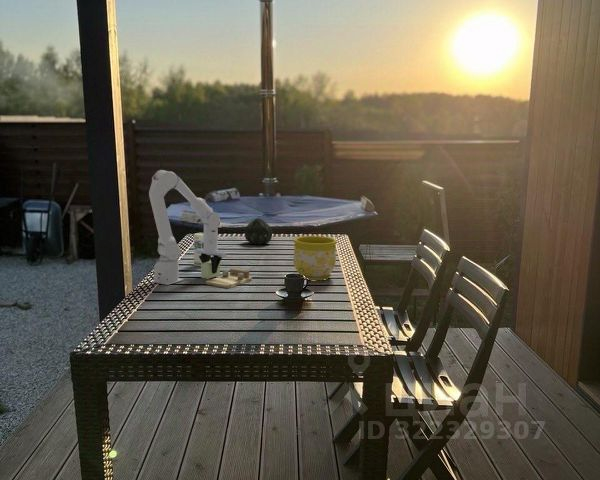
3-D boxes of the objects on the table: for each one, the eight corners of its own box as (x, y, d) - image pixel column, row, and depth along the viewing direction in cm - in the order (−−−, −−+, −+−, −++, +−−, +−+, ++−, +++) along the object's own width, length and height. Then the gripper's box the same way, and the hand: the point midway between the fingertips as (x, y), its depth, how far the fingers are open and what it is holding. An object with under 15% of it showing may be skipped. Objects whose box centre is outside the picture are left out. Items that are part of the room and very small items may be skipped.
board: (228, 288, 227) (228, 279, 227) (205, 284, 233) (205, 275, 232) (251, 280, 241) (252, 271, 240) (230, 276, 246) (230, 267, 246)
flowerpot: (327, 285, 236) (329, 245, 234) (286, 280, 242) (287, 241, 240) (340, 275, 253) (342, 238, 250) (301, 271, 259) (302, 234, 256)
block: (207, 278, 241) (207, 264, 240) (201, 277, 243) (201, 263, 242) (219, 275, 248) (219, 261, 247) (213, 274, 249) (213, 260, 248)
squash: (264, 230, 331) (250, 211, 322) (281, 235, 321) (268, 216, 311) (248, 248, 326) (234, 230, 317) (265, 254, 315) (251, 235, 306)
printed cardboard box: (193, 265, 264) (193, 233, 261) (201, 263, 269) (201, 232, 266) (203, 267, 261) (203, 235, 259) (211, 264, 266) (211, 233, 264)
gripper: (230, 240, 242) (230, 273, 245) (203, 237, 249) (203, 268, 252) (219, 243, 236) (219, 276, 239) (192, 239, 243) (192, 271, 246)
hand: (210, 272), depth 245 cm, fingers closed on block, 3 cm apart
